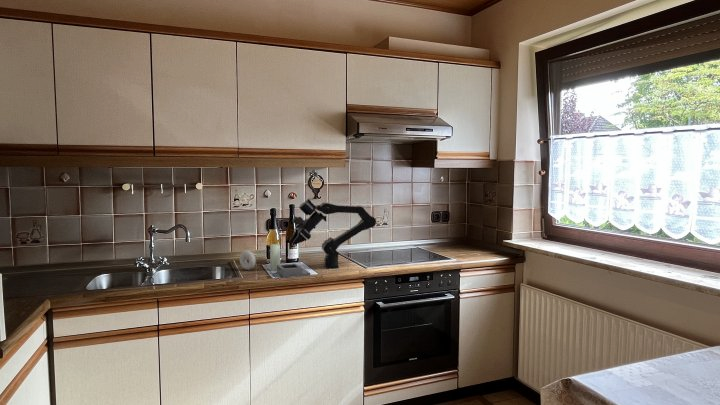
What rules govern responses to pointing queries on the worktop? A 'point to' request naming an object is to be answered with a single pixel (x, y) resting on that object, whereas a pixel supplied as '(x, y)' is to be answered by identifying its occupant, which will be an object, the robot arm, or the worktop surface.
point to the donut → (244, 263)
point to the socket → (291, 270)
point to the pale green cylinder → (274, 256)
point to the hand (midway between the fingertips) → (291, 243)
